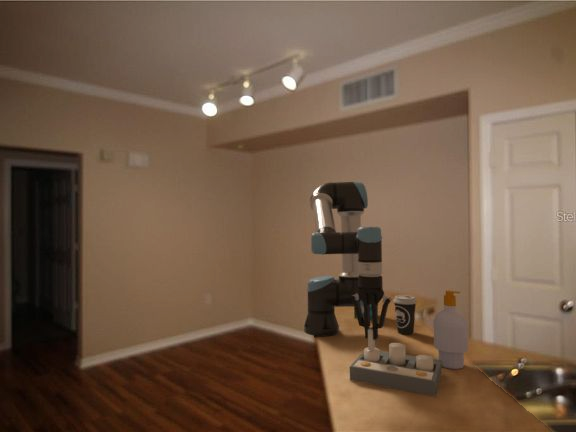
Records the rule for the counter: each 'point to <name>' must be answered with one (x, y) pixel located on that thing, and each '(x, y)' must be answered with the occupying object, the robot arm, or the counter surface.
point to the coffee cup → (405, 313)
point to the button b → (397, 354)
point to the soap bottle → (451, 333)
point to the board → (397, 374)
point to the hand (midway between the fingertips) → (371, 348)
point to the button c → (424, 362)
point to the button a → (372, 355)
